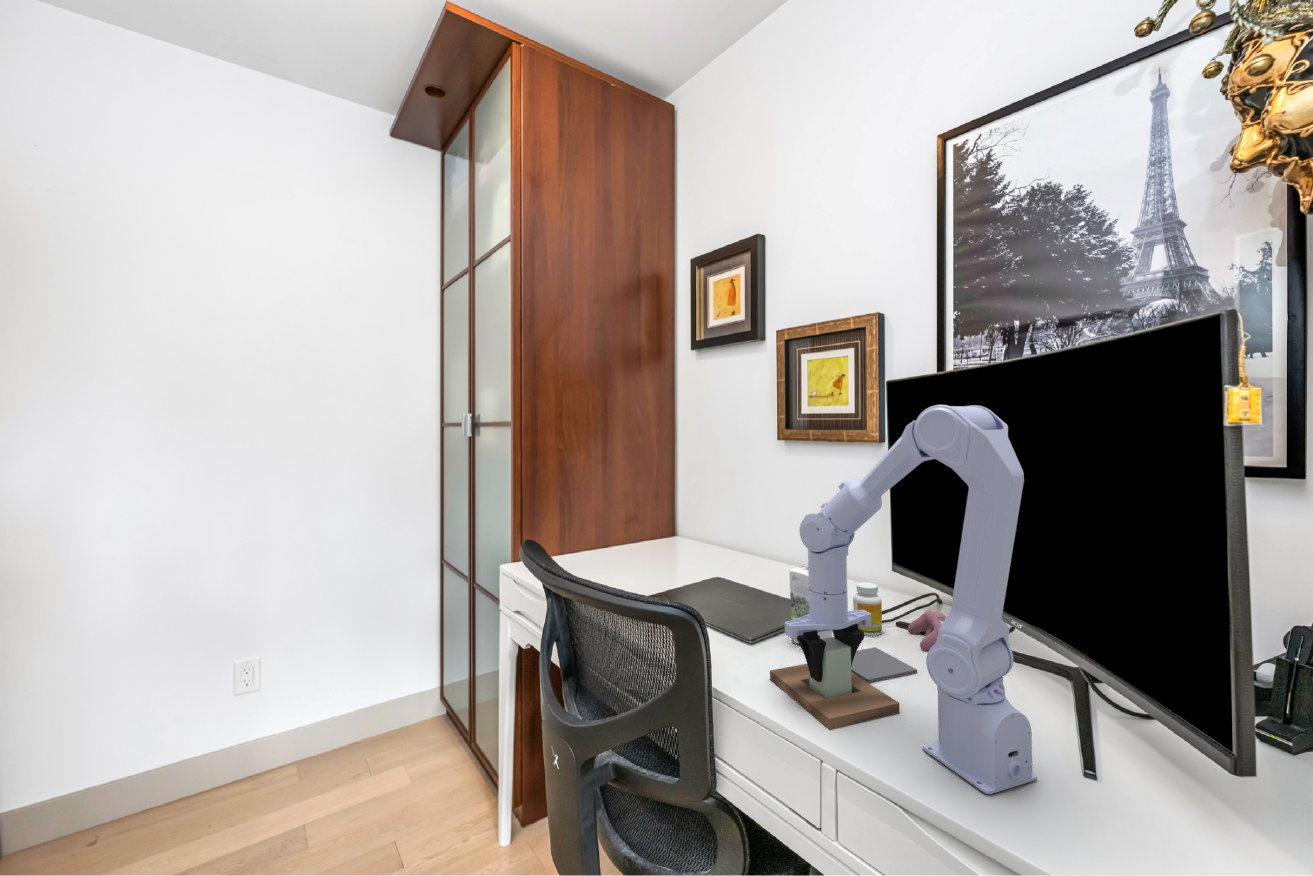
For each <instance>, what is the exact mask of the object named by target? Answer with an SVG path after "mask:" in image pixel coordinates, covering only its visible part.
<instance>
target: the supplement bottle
mask: <svg viewBox="0 0 1313 876" xmlns="http://www.w3.org/2000/svg"><path fill="white" fill-rule="evenodd" d="M878 587H879V586H878V585H877V584H876V583H875V582H874V583H872V582H868V581H867V582H866V581H865V582H858V583H856V593H855V594H854V595H853V596H852V597H853V598H852V599H853V600H852V601H853V603H852V604H853V607H852V608H853V610H852V611H856V610H864V611H867V612H869V613H871V625H870V626H864V625H859V626H858V629H860V630H862V631H864V637H865V636H866V637H876V636H880V635H881V634H882V632H883V617H882V616H883V614H882V613H883V610H882V609H883V607H882V605H883V602H882V598H881V596H880V595H879V594H878V592H879V588H878Z"/></svg>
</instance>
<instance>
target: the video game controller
mask: <svg viewBox="0 0 1313 876" xmlns="http://www.w3.org/2000/svg"><path fill="white" fill-rule="evenodd" d="M946 617H947V616H946V615H945V614H943V613H942V612H941V611H938V610H931V609H930V608H929V609H928V611H927V610H926V611H924V612H923V613H922V614H921V615H920V616H919V617H917V618H916V619H914V620H912V621H911V622H910V624H909V625H908V627H907V631H908V632H909V633H910V634H911V635H917V634H921V633H920V632H921V631H924V632H925V637H923V638H922V640H920V642H919V647H920V649H921V650H922V651H924V652H928V651H929V650H930V648H931V647H932V646H933V645H934V644H935V643H936V641H937V638H938V631H939V629H940V627H941V625H942V624H943V622H944V620H945V619H946ZM925 630H926V631H925Z"/></svg>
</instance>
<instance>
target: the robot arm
mask: <svg viewBox="0 0 1313 876" xmlns="http://www.w3.org/2000/svg"><path fill="white" fill-rule="evenodd" d="M916 418H917V419H916V420H915V419H914V420H912V422H910V423H908V424H906V427H905V428H904V430H903V432H902V434H901V436H900V437H899V438H898V439H897V440H896V442H894V444H892V446H891V447H890V448H889V449H888V450H887V451H886V453H884V455H883V456H882V457H881V458H880V459H879V461H878V462H877V463H876V464H874V466H873V467H872V468H871V470H869V472H868V473H867V474H866V475H865V476H864V477H863V479H858V478H854V479H850V480H848V481H842V482H841V483H840V484H839V485H838V488H839V491H838V492H836V493H835V495H834V496H832V497H831V499H830V500H829V501H826V502H823V503H822V504H821V505H820V508H821V509H820V510H819V512H817V513H816V512H813V513H808V514H806V515H804V518H803V519H802V521H801V523H800V525H799V537H800V539H801V542H802V544H803V545H804V547H805V548H806V549H807V561H808V562H807V563H808V564H807V565H808V573H809V614H808V615H805V616H803V617H800V618H797V619H795V620H792V621H791V620H787V621H784V635H786V636H787V637H789V638H790V639H791V640H792V639H793V638H796V639H797V641H798V642H799V644H800V645H799V646H800V648H801V650H802V653H803V655H804V657H805V661H806V664H807V665H808V668H809V672H810V677H811V678H813V679H814V680H815V681H817V682H821V681H822V675H823V654H824V650H825V646H826V642H825V641H824V640H822V639H820V635H818V632H823V631H829V630H832V636H833V637H834V638H835V639H837V640H839V641H841V642H842V643H844V644H846V645H848V646H849V647H851V667H852V663H853V659H854V656H855V653H856V651H858V648H859V646H860V645H861V643H862V642H863V640H864V639H865V635H864V631H862V630H860V629H858V626H859V625H864V626H870V625H871V613H869V612H867V611H864V610H856V611H853V610H849V609H848V607H849V606H848V605H849V603H848V569H847V566H848V565H847V564H848V562H847V557H848V556H849V547H850V546H851V544H852V542H853V541H854V538H855V533H856V531H857V530H859V529H860V528H861V527H862V526H863V525H865V523H866V522H867V521H868V520H870V518H872V517H873V516H874V515H875V514H877V513H878V512H879V511H880V510H881V509H882V505H883V503H882V496H883V495H884V494H886V493H887V492H888V491H889V490H890V489H891V488H892V487H894V486H895V485H897V483H898V482H900V481H902V479H903V478H905V477H906V476H907V475H908V474H909V473H911V472H912V471H913V470H914V469H916V468H917V467H918V466H919V465H921V464H922V463H923V462H925V461H930V460H937V461H938V462H940V463H942V464H944V465H945V466H947V467H948V468H951V469H952V470H953V472H955V473H956V474H957V475H958V476H959V477H960V478H961V479H962V480H963V482H964V483H965V484H967V486H968V492H967V498H966V507H965V511H964V520H963V526H962V532H961V541H960V546H959V552H958V553H959V554H958V560H957V567H956V573H955V581H954V587H953V593H952V601H951V607H950V611H949V613H948V614H947V616H946V619H945V620H944V622H943V624H942V625H941V627H940V629H939V631H938V638H937V641H936V643H935V644H934V645H933V646H932V647H931V648H930V650H929V651H927V653H926V658H925V659H926V660H925V663H926V664H925V665H926V669H927V672H928V674H929V676H930V678H931V680H932V681H933V682H934V684H935V685H936V686H937V689H936V690H937V716H938V717H937V719H938V722H937V724H938V725H937V726H938V740H936V741H932V742H928V743H924V744H922V750H923V751H925V753H927V754H929V755H931V756H932V757H933V758H935V759H936V760H937V761H939V762H940V763H942V764H943V765H945V766H946V767H947V768H949V769H950V770H951V771H953V772H954V773H956V774H957V775H959V777H961V778H962V779H964V780H966V781H967V782H969V783H970V784H971V785H972V786H974V787H975V788H977V789H978V790H979V791H981V792H982V793H984V794H987V795H992V794H995V793H996V794H997V793H999V792H1002V791H1005V790H1008V789H1011V788H1015V787H1018V786H1021V785H1023V784H1024V785H1025V784H1027V783H1031V782H1032V781H1033V782H1034V781H1036V780H1038V774H1037V773H1035V772H1034V771H1033V744H1032V743H1033V739H1032V734H1033V732H1032V727H1031V724H1030V721H1029V719H1028V718H1027V716H1026V715H1025V714H1023V713H1022V712H1021V711H1019V710H1018V709H1016V708H1015V707H1014V706H1013V705H1012V703H1011V702H1010V701H1009V699H1008V698H1007V696H1006V690H1005V688H1006V687H1005V685H1004V676H1007V675H1008V674H1009V673H1010V671H1012V669H1013V666H1014V653H1013V651H1012V648H1011V646H1010V642H1009V636H1010V635H1009V634H1010V627H1009V625H1008V624H1007V623H1006V622H1005V621H1004V620H1003V613H1004V612H1003V611H1004V605H1005V599H1006V594H1007V587H1008V581H1009V574H1010V567H1011V562H1012V555H1013V549H1014V543H1015V538H1016V533H1017V525H1018V520H1019V519H1018V518H1019V512H1020V508H1021V507H1020V506H1021V502H1022V501H1021V500H1022V495H1023V489H1024V483H1025V478H1024V475H1025V474H1024V470H1023V468H1022V465H1021V463H1020V461H1019V459H1018V457H1017V455H1016V452H1015V450H1014V447H1013V446H1012V443H1011V441H1010V439H1009V426H1008V424H1007V423H1006V422H1004V420H1002V418H1000V417H999V416H998V415H996V414H995V413H994V412H993V411H992V410H990V409H989V408H987V407H985V406H982V405H976V404H974V405H972V404H971V405H965V406H954V405H952V406H950V405H947V404H936V405H932V406H929V407H927V408H925V409H924V410H923V411H922V412H920V414H919V415H918V417H916Z"/></svg>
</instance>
